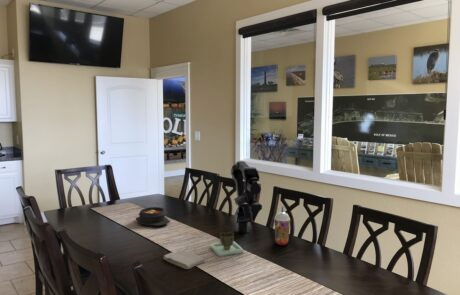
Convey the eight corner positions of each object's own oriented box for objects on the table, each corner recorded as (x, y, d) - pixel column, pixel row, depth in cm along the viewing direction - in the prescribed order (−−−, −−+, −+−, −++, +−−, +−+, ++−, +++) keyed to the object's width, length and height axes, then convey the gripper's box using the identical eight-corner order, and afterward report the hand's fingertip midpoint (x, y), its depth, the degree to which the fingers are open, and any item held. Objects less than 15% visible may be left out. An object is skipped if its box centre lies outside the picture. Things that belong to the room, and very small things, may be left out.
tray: (210, 247, 191) (210, 243, 191) (233, 244, 196) (233, 240, 196) (218, 256, 179) (218, 253, 179) (243, 252, 184) (243, 249, 184)
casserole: (177, 223, 231) (176, 210, 230) (153, 231, 217) (152, 217, 216) (152, 216, 247) (152, 203, 246) (128, 222, 233) (128, 209, 232)
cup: (234, 246, 191) (234, 231, 190) (234, 251, 184) (234, 235, 183) (219, 246, 191) (219, 231, 190) (219, 251, 184) (219, 236, 183)
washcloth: (180, 253, 184) (179, 247, 184) (206, 262, 173) (206, 256, 173) (161, 260, 175) (161, 254, 175) (187, 271, 164) (187, 264, 164)
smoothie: (277, 246, 192) (278, 209, 190) (271, 241, 200) (272, 205, 198) (292, 245, 194) (293, 208, 192) (285, 240, 202) (286, 204, 200)
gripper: (229, 188, 205) (229, 215, 206) (243, 195, 188) (243, 225, 189) (247, 186, 209) (247, 213, 210) (262, 193, 192) (262, 222, 193)
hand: (249, 218), depth 201 cm, fingers open, 9 cm apart
